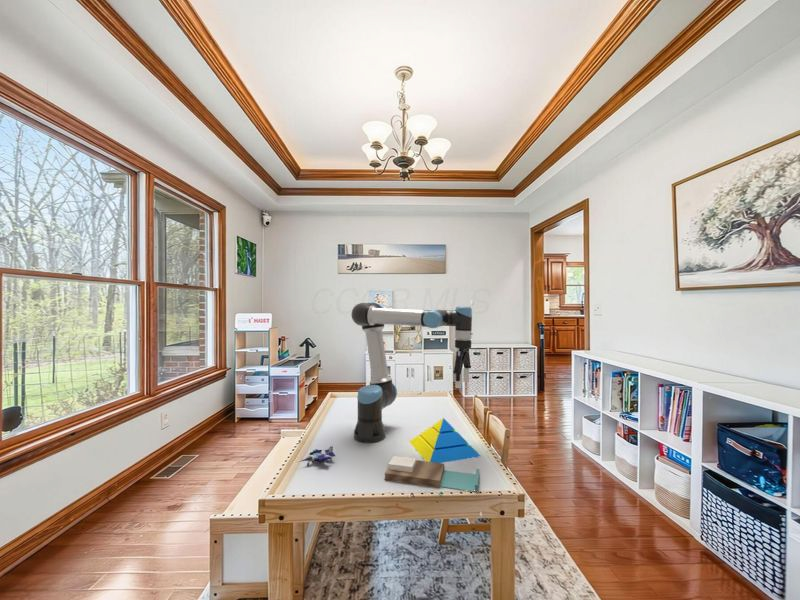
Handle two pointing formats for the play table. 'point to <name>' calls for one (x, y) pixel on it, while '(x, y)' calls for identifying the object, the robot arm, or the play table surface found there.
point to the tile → (402, 464)
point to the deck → (419, 474)
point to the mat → (460, 480)
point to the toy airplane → (320, 456)
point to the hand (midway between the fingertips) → (462, 384)
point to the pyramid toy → (442, 444)
